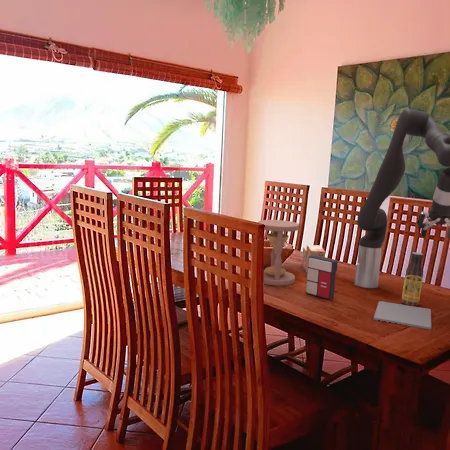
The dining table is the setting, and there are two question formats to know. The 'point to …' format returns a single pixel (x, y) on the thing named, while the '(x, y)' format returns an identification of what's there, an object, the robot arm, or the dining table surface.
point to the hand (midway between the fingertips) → (435, 236)
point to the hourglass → (278, 251)
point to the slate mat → (403, 315)
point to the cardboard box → (311, 254)
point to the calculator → (321, 276)
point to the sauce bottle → (413, 281)
